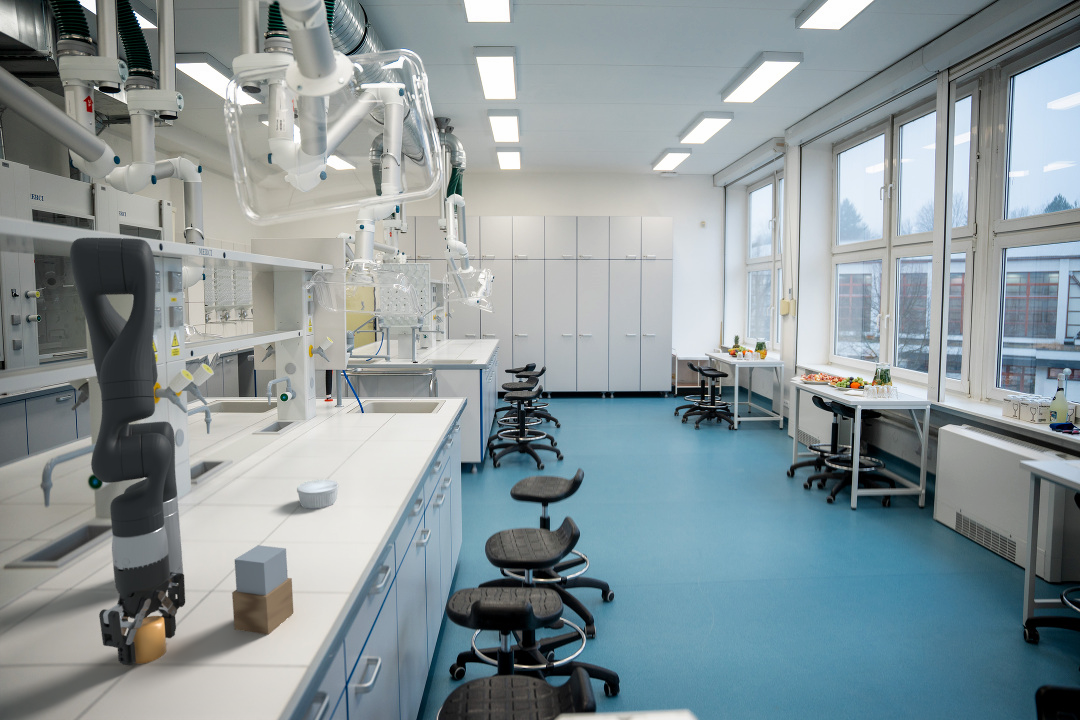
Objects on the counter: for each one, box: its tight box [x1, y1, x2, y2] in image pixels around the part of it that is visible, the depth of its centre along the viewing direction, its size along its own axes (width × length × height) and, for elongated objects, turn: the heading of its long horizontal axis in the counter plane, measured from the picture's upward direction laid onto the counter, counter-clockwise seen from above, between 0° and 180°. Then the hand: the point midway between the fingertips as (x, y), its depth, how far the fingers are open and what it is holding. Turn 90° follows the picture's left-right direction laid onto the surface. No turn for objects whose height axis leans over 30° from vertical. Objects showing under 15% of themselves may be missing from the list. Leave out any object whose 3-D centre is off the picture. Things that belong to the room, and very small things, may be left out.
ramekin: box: [296, 479, 340, 510], centre depth 168 cm, size 11×11×5 cm
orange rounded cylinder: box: [133, 615, 167, 665], centre depth 98 cm, size 5×5×6 cm
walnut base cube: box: [231, 577, 294, 636], centre depth 108 cm, size 7×7×7 cm
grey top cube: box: [234, 544, 289, 595], centre depth 107 cm, size 6×6×6 cm
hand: (149, 649), depth 99 cm, fingers open, 7 cm apart
